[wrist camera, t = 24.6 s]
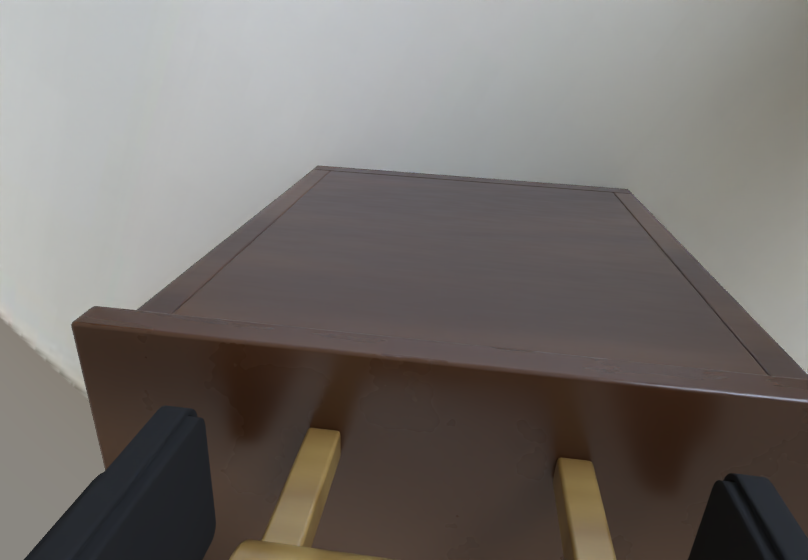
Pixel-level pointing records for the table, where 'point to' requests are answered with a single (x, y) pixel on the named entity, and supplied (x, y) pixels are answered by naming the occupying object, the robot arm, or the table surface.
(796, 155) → the table surface
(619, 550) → the chest lid
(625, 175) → the table surface
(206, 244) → the table surface
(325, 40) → the table surface
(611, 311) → the chest
